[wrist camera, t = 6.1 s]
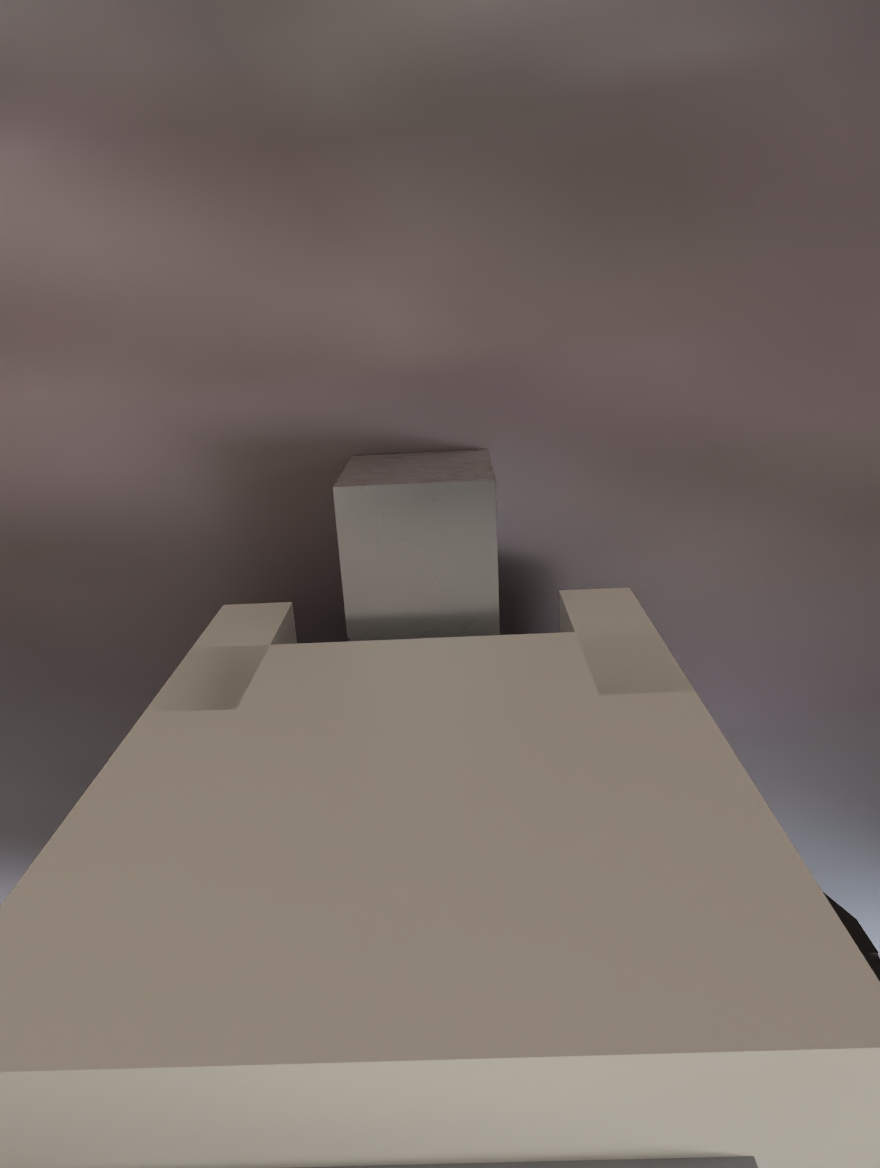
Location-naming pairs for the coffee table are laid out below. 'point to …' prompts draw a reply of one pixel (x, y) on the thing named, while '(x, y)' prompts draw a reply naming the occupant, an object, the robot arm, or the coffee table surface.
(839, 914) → the robot arm
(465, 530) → the rail
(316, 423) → the coffee table surface
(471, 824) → the cream and grey block
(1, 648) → the coffee table surface
